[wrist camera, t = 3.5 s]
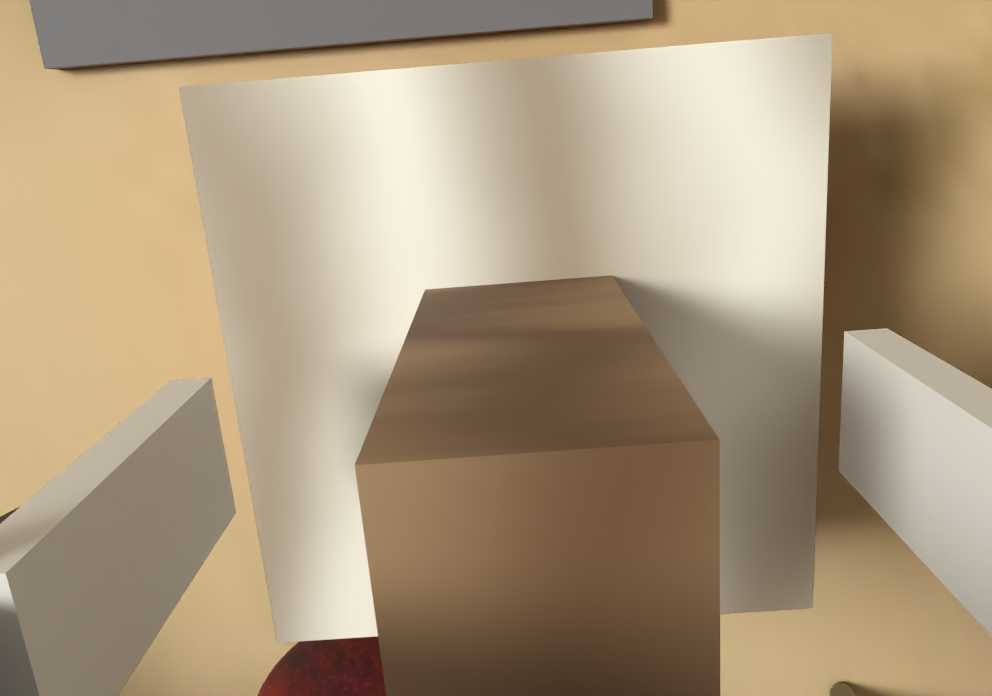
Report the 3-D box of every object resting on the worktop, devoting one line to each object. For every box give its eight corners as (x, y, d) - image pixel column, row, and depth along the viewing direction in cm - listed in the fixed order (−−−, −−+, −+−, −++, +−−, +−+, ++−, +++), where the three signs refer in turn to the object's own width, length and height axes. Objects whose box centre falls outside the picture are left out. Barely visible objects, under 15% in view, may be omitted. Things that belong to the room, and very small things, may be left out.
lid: (298, 592, 22) (112, 1043, 12) (215, 88, 19) (-169, 68, 8) (782, 560, 22) (1052, 993, 11) (794, 41, 18) (1209, -48, 8)
